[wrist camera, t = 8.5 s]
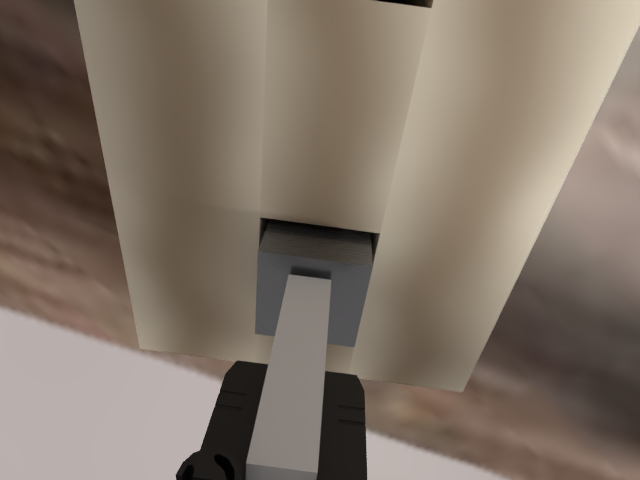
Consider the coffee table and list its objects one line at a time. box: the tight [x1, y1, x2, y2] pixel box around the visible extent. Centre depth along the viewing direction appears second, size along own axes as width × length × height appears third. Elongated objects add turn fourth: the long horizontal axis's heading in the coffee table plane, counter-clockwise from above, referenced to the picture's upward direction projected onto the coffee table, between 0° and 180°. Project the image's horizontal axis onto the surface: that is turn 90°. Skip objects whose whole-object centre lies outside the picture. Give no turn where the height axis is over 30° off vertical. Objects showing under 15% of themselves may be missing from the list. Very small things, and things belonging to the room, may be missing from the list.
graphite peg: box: [255, 219, 373, 347], centre depth 17 cm, size 4×4×6 cm
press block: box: [74, 0, 640, 392], centre depth 16 cm, size 16×24×7 cm, turn 174°
